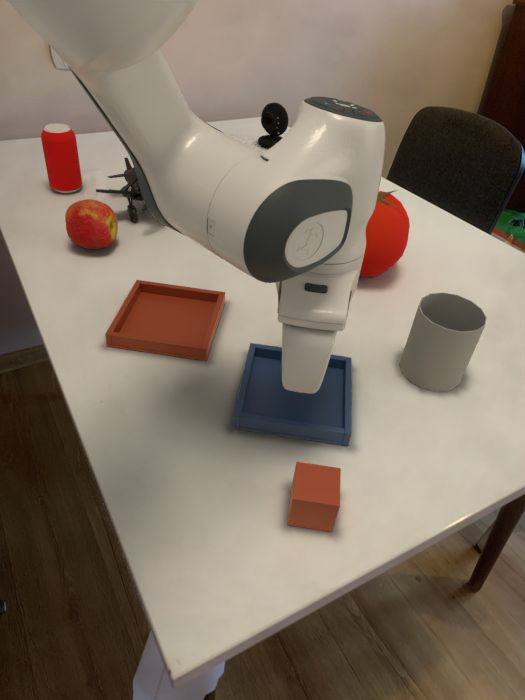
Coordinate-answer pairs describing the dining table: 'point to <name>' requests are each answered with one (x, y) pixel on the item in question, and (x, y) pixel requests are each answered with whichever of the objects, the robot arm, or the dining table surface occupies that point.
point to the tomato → (385, 235)
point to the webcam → (273, 124)
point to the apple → (91, 224)
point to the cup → (441, 341)
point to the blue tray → (294, 400)
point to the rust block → (314, 496)
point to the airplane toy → (133, 194)
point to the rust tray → (167, 320)
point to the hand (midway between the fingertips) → (300, 365)
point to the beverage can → (61, 158)
